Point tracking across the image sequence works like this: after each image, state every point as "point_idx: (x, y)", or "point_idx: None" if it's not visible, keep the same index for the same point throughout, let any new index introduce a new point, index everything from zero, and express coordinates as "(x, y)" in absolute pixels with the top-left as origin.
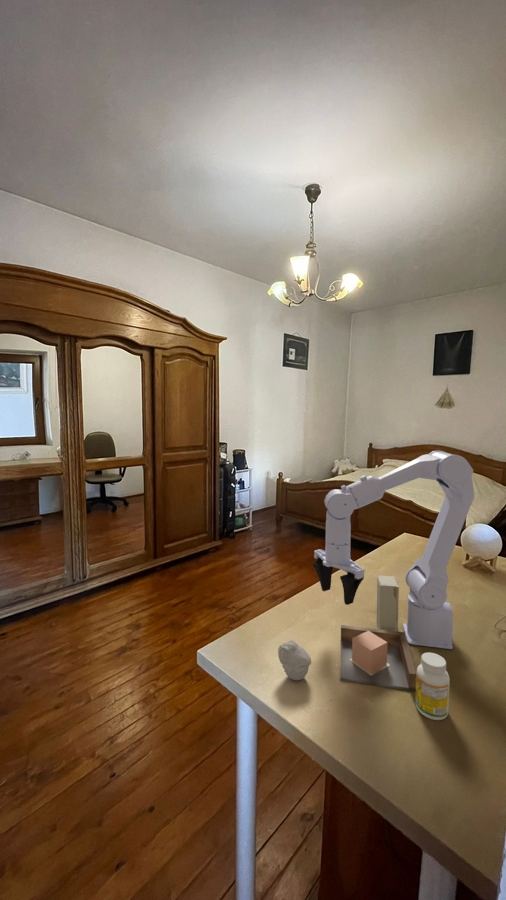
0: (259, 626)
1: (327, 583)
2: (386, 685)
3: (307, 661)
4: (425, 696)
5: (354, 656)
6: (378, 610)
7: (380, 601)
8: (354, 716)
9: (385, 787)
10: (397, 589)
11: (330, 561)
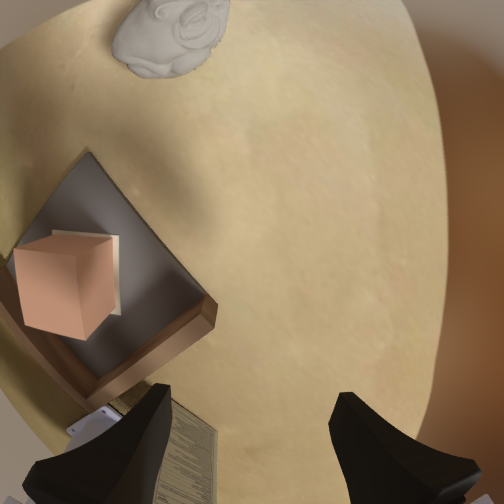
0: (432, 147)
1: (344, 438)
2: (25, 234)
3: (113, 38)
4: None
5: (95, 240)
6: (182, 451)
7: None
8: (25, 106)
9: None
10: None
11: None
